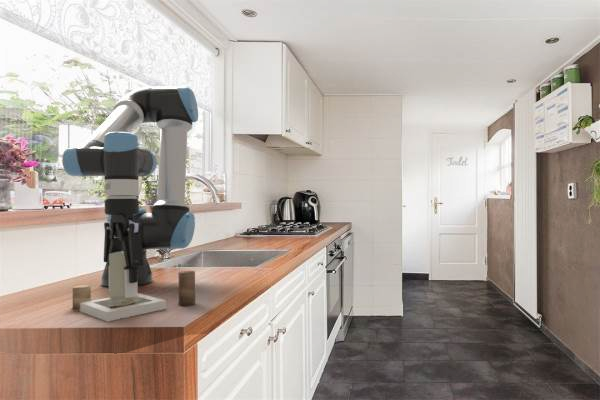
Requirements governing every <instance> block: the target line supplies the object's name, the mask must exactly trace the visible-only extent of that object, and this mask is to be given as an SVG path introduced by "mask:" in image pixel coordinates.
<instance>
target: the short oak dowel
mask: <svg viewBox="0 0 600 400" xmlns="http://www.w3.org/2000/svg"><path fill="white" fill-rule="evenodd" d="M91 289H92V286H91V285H87V284H86V285H77V286H72V292H71V293H72V310H80V303H82V302H88V301H92V300H91V299H92V290H91Z"/></svg>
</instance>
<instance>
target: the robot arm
mask: <svg viewBox="0 0 600 400" xmlns="http://www.w3.org/2000/svg"><path fill="white" fill-rule="evenodd" d="M198 120H199V108H198V104H197V99H196V95H195V93H194V92H193V89H192V88H190V87H189V86H180V85H177V86H145V87H140V88H138V89H135V90H132V91H130V92H129V93H127V94H125V95H123V96H122V97H121V98H120V99H119V100H118V101H117V102H116V103H115V104H114V106H113V109H112V113H111V114H110V115H109V116H108V117H107V118H106V119H105V121H103V122H102V124H101V125H100V126H98V128H97V129H96V130H95V131H94V133H93V134H91V136H90V137H89V138H88V139H87V140H86V141H85V142H84V143H83V145H82V146H80V147H78V146H74V147H68V148H66V149H65V150H64V152H63V154H62V159H61V161H62V166H63V169H64V171H65V172H66V174H67V175H69V176H72V177H82V178H84V177H104V178H103V179H104V183H103V185H102V187H103V188H104V196H105V197H107V198H106V199H105V200H104V213H105V215H107V219H106V221H105V222H104V224H103V226H104V227H103V228H104V244H103V262H104V263H105V265H104V269H103V272H102V275H101V277H100V278H101V279H100V281H101V286H104V287H108V293H109V294H110V278H109V254H111V253H114V252H119V251H124V256H125V261H126V267H124V270H125V298H129V297H135V296H138V292H139V291H138V290H139V288H138V286H141V285H146V284H149V283H151V282H153V272H152V269H151V266H150V263H149V261H148V257H147V250H173V251H174V250H177V249H179V250H181V249H186V248H187V247H189V246H190V244H191V243H192V240H193V238H194V233H195V227H196V221H195V220H196V219H195V218H196V216H195V214H194V213H193V212H191V211H190V206H189V205H188V204H187V203H186V182H187V181H186V179H187V178H186V177H187V153H188V151H187V149H188V148H187V147H188V132H190V131H192V129H193V123H196V122H198ZM145 123H155V125H156V126H155V127H157V128H158V130H160V133H159V134H160V135H159V136H160V137H159V154H158V155H159V156H158V161H157V157H156V155H155V154H154V153H153V152H152V151H151V150H149V149H148V148H146V147H141V146H140V144H139V138H138V135H137V134H135V133H133V132H132V131H133V130H134V129H135V128H138V127H139V126H141V125H142V124H145ZM157 162H158V163H157ZM157 165H158V175H157V180H158V181H157V195H156V196H157V197H156V200H157V201H156V202H155V203H154V204H152V205H151V212H147V210H146V208H140V201H139V199H138V198H137V197H139V195H140V193H139V191H140V188H139V185H140V184H139V181H140V180H139V178H140V177H148V176H150V175H152V174H153V173H154V172H155V170H156V169H157Z"/></svg>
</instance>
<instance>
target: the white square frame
mask: <svg viewBox="0 0 600 400" xmlns="http://www.w3.org/2000/svg"><path fill="white" fill-rule="evenodd" d="M166 303H167V302H166V300H165V299H161V298H158V297H154V296H151V295H145V294H142V293H138V296H136V300H135V301H134V302H132V303H131V304H130V305H126V306H119V307H116V308H114V306H110V297H106V298H100V299H95V300H91V301H88V302H82V303H80V309H79V312H81V313H84V314H87V315H89V316H91V317H95V318H97V319H100V320H101V321H102V320H103V321H105V322H112V321H116V319H117V320H121V319H120V318H122V319H125V318H130V316H131V317H134V316H139V315H143V314H144V315H145V314H148V313H153V312H158V311H162V310H166V307H167V304H166Z"/></svg>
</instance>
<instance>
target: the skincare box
mask: <svg viewBox="0 0 600 400" xmlns="http://www.w3.org/2000/svg"><path fill="white" fill-rule="evenodd" d="M124 267H126V261H125V256H124V251H119V252H114V253H111V254H109V278H110V293H109V298H110V306H115V307H125V306H130V305H132V304H133V303H132V302H134V301H135V300H136V296H135V297H129V298H125V270H124Z"/></svg>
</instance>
